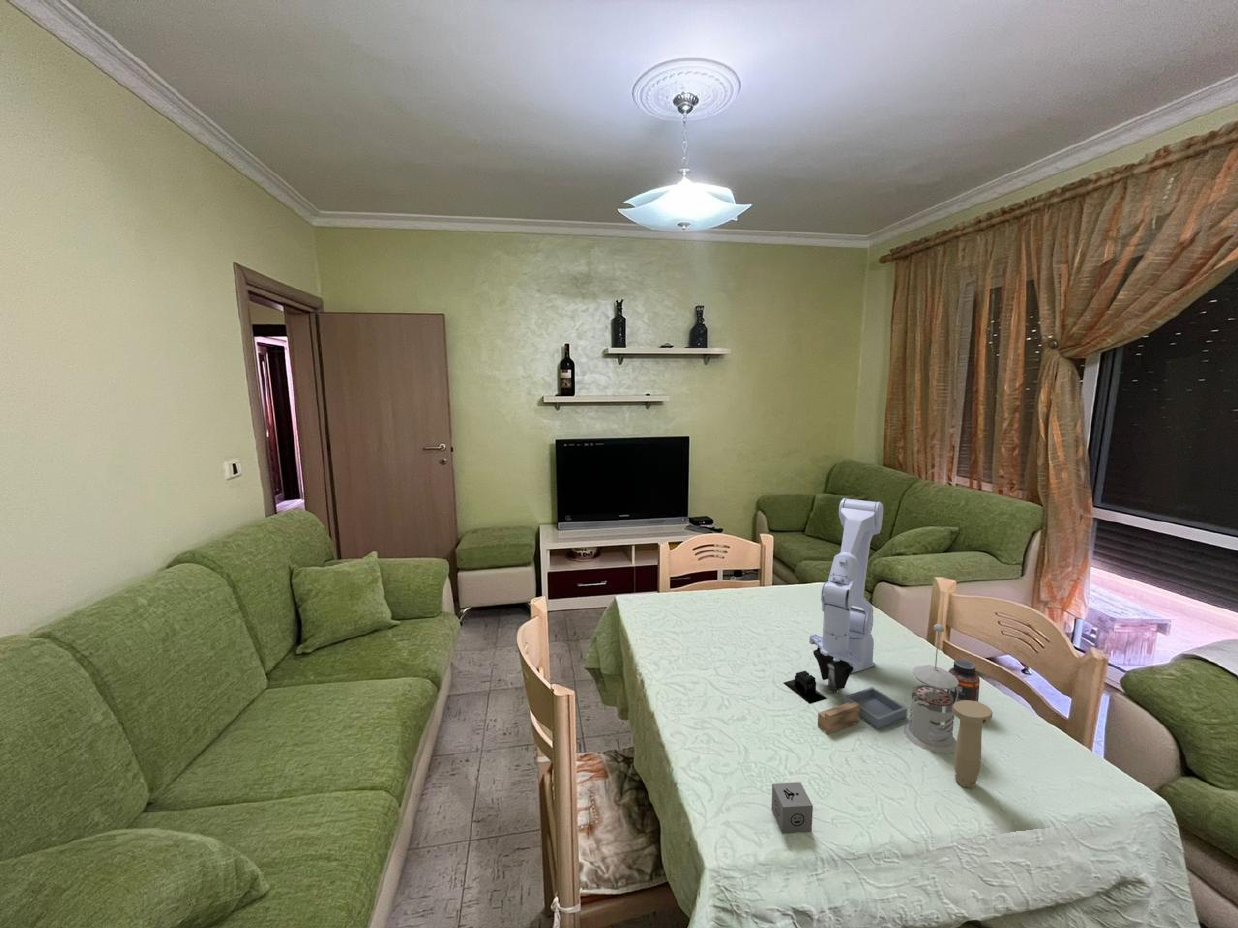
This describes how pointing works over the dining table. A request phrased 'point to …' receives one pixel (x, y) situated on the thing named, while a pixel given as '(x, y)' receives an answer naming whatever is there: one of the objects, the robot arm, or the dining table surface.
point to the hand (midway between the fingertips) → (833, 683)
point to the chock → (839, 717)
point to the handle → (969, 740)
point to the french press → (932, 708)
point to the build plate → (805, 687)
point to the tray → (877, 708)
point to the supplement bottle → (965, 681)
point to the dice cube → (792, 808)
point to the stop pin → (831, 676)
